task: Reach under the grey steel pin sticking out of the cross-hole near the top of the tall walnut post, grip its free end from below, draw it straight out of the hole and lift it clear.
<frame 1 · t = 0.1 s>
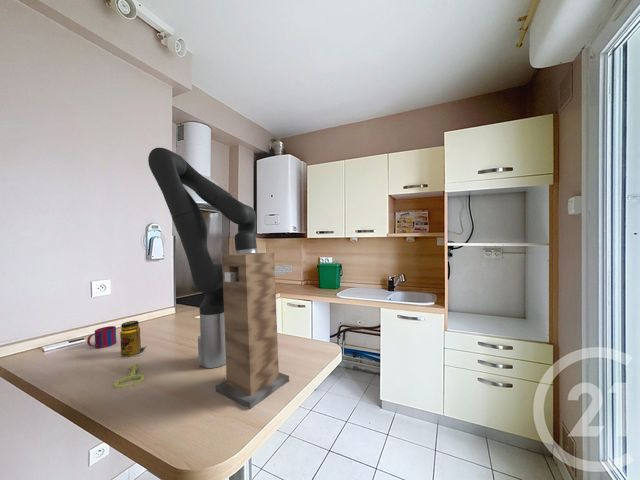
hand: (252, 310, 84), 17 cm above the table, tool pointing down, fingers open, 8 cm apart
yellow-green flat looped piece: (131, 379, 77), on the table
mug: (101, 347, 103), on the table
pin: (262, 276, 74), point 30 cm above the table, touching post
post: (253, 385, 70), on the table
condiment: (132, 353, 95), on the table
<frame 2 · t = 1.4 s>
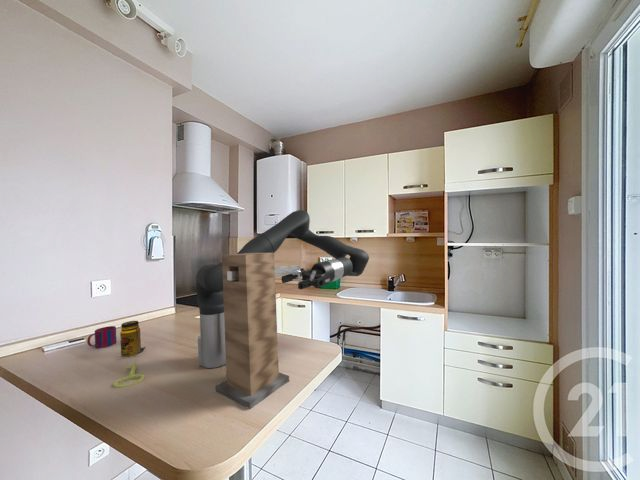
hand: (290, 282, 76), 27 cm above the table, tool horizontal, fingers open, 8 cm apart
pin: (267, 276, 74), point 30 cm above the table, touching post
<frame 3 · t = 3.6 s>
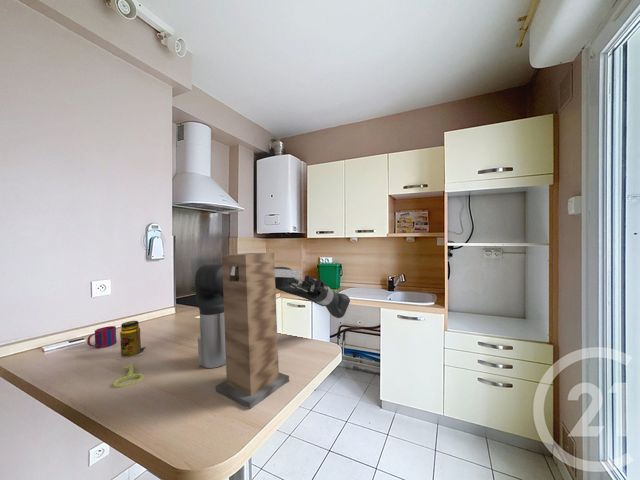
hand: (296, 277, 87), 28 cm above the table, tool pointing upward, fingers open, 8 cm apart
pin: (268, 276, 75), point 30 cm above the table, tilted 9°, touching post
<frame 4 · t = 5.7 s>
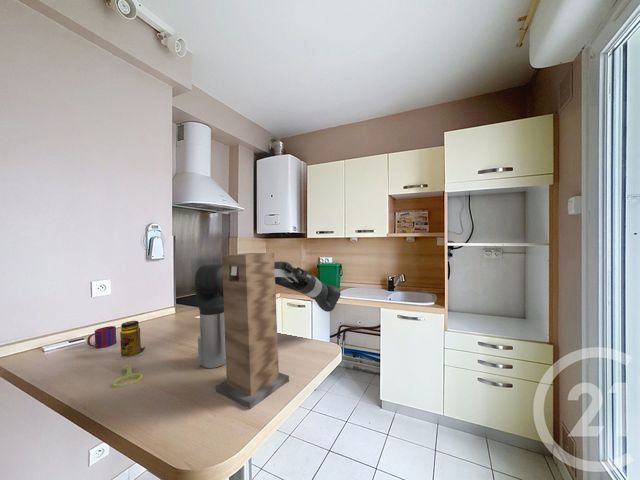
hand: (278, 264, 79), 33 cm above the table, tool pointing upward, fingers open, 3 cm apart
pin: (268, 276, 75), point 30 cm above the table, tilted 9°
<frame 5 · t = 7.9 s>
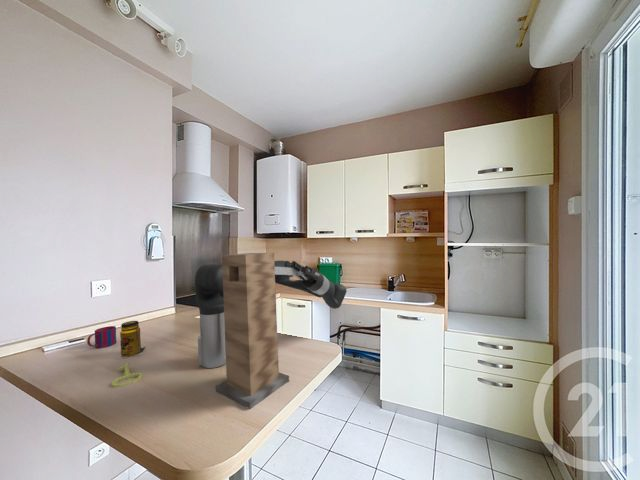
hand: (289, 263, 84), 33 cm above the table, tool pointing upward, fingers closed on pin, 2 cm apart
pin: (279, 274, 80), point 30 cm above the table, tilted 9°, touching gripper
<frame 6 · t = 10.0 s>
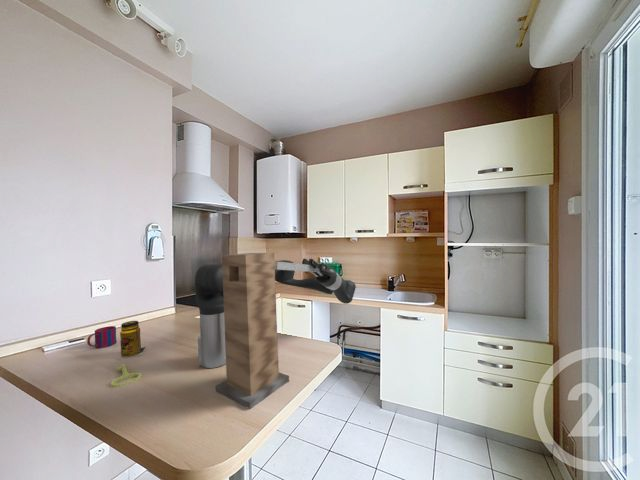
hand: (306, 260, 92), 33 cm above the table, tool pointing upward, fingers closed on pin, 2 cm apart
pin: (298, 270, 88), point 30 cm above the table, tilted 9°, touching gripper
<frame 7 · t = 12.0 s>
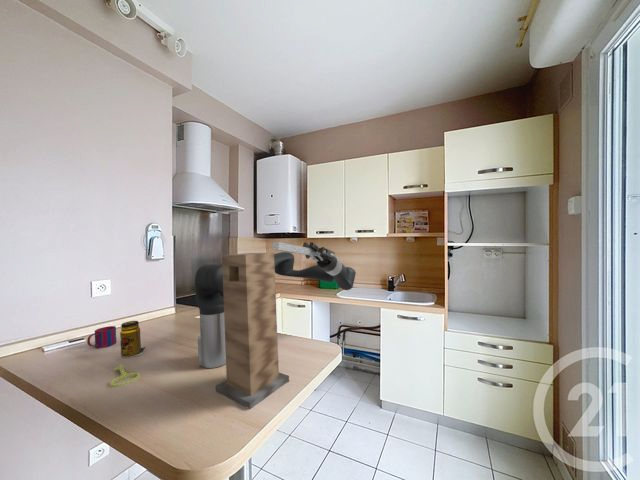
hand: (307, 244, 92), 39 cm above the table, tool pointing upward, fingers closed on pin, 2 cm apart
pin: (299, 253, 88), point 36 cm above the table, tilted 9°, touching gripper
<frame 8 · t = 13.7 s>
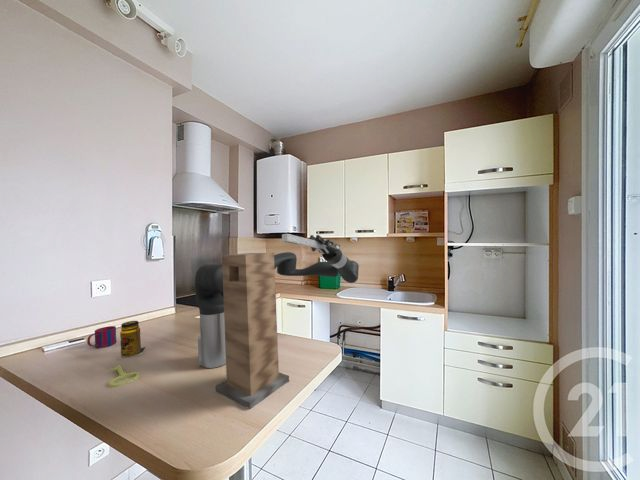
hand: (313, 237, 96), 41 cm above the table, tool pointing upward, fingers closed on pin, 2 cm apart
pin: (306, 245, 92), point 38 cm above the table, tilted 9°, touching gripper
at the end: pin touching gripper; the gripper is holding pin; pin moved 23.3 cm from its start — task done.
